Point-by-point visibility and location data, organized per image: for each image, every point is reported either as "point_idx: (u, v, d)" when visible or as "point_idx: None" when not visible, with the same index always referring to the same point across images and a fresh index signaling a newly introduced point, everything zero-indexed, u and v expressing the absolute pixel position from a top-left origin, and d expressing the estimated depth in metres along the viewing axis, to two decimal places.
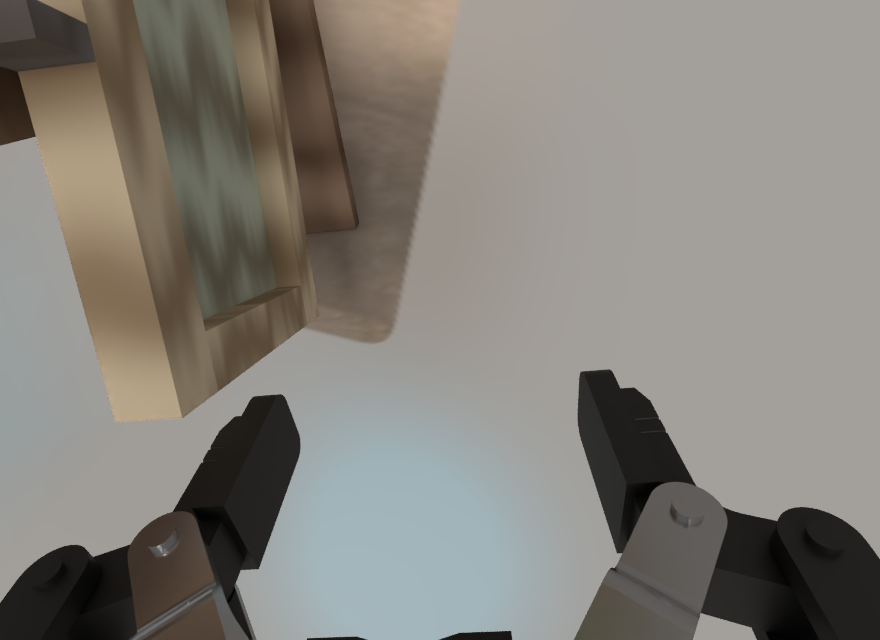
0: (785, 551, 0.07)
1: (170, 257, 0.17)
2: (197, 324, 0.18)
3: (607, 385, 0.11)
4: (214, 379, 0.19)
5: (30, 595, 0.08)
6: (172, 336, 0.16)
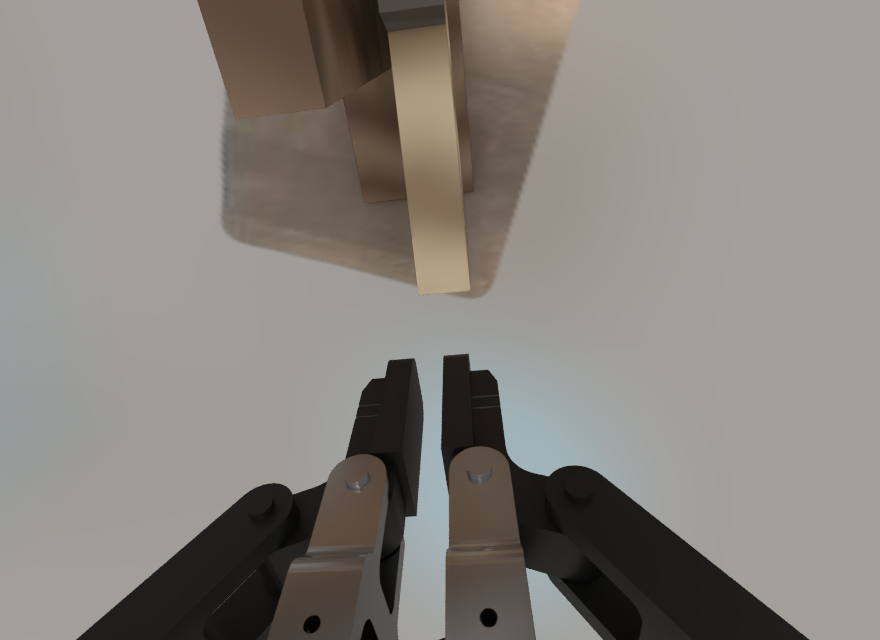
0: (560, 517, 0.08)
1: None
2: None
3: (459, 367, 0.12)
4: None
5: (243, 519, 0.09)
6: None
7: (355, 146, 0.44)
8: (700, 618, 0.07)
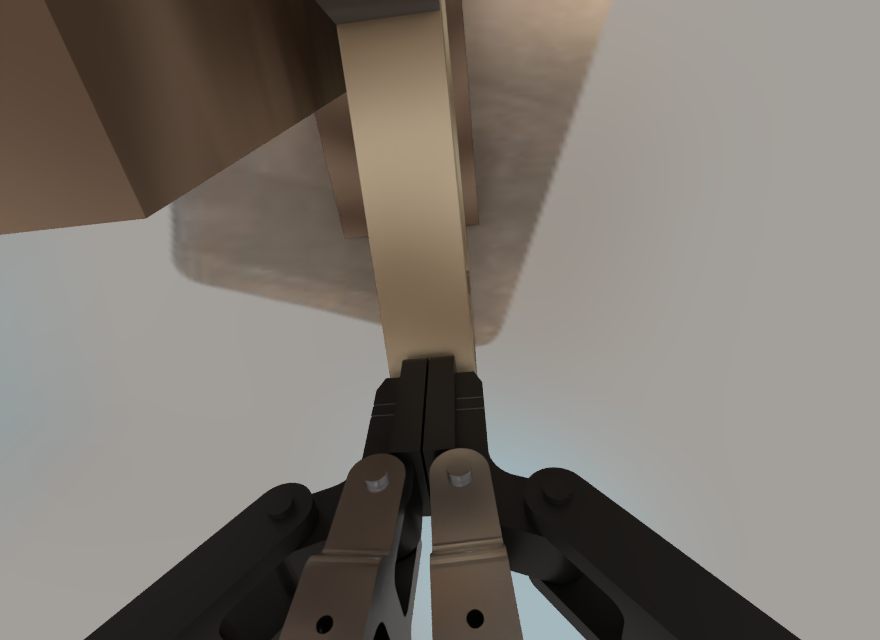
0: (540, 520, 0.08)
1: None
2: (471, 328, 0.16)
3: (444, 368, 0.12)
4: None
5: (263, 517, 0.09)
6: None
7: (331, 171, 0.35)
8: (680, 613, 0.07)
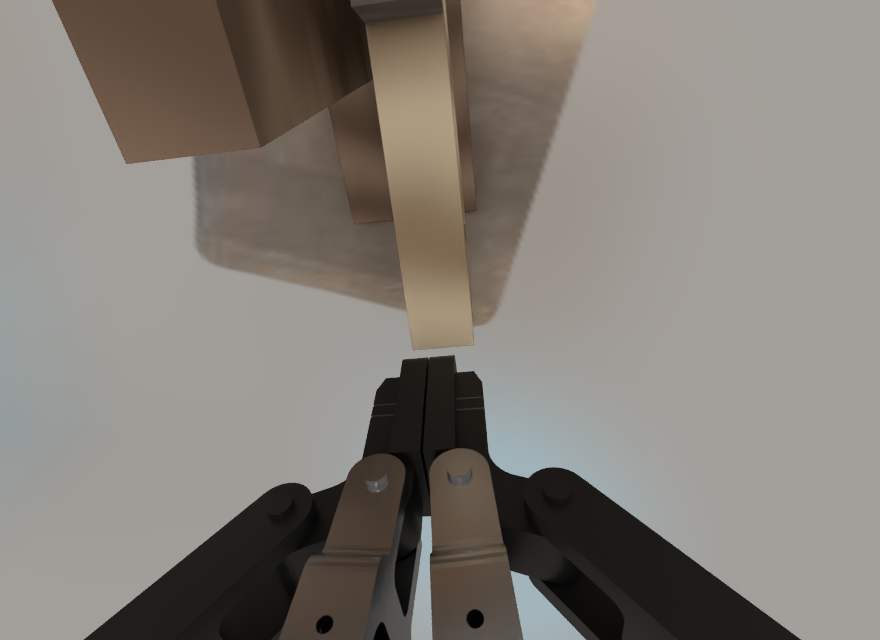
0: (540, 520, 0.08)
1: None
2: None
3: (444, 368, 0.12)
4: None
5: (263, 517, 0.09)
6: (467, 272, 0.18)
7: (343, 161, 0.39)
8: (680, 613, 0.07)
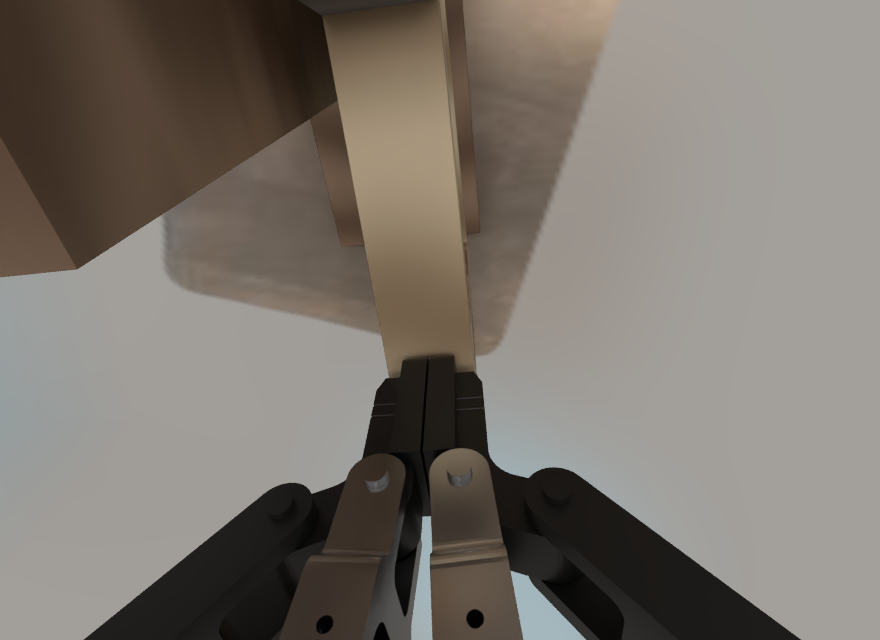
0: (539, 520, 0.08)
1: None
2: None
3: (444, 368, 0.12)
4: None
5: (263, 517, 0.09)
6: (472, 348, 0.14)
7: (327, 177, 0.34)
8: (680, 613, 0.07)
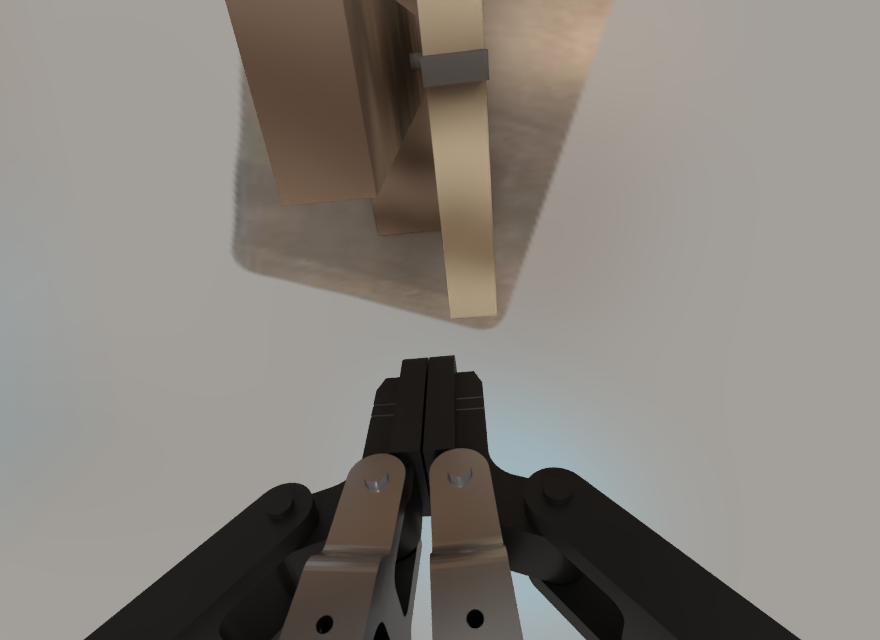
0: (540, 520, 0.08)
1: None
2: None
3: (444, 368, 0.12)
4: None
5: (263, 517, 0.09)
6: None
7: None
8: (680, 613, 0.07)
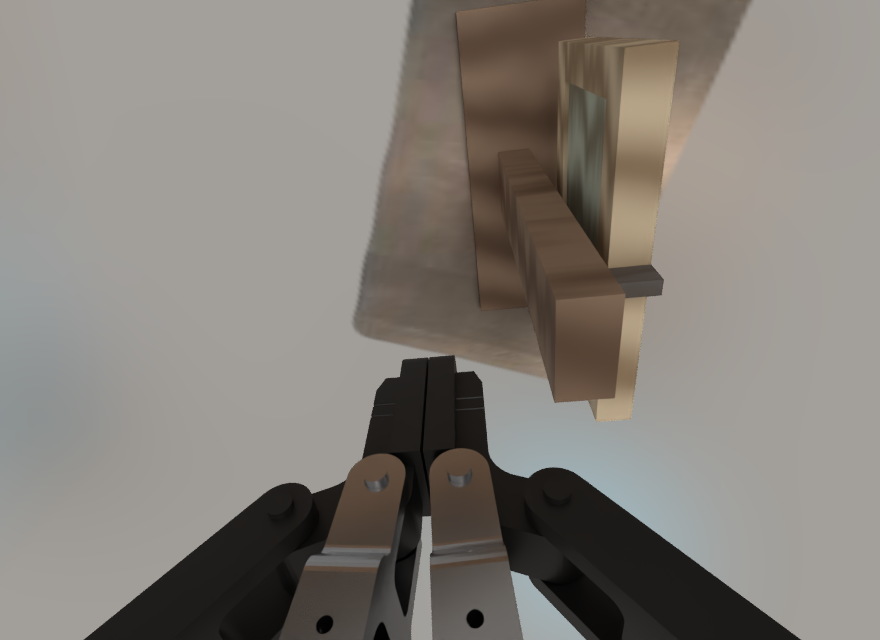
0: (540, 520, 0.08)
1: None
2: None
3: (444, 368, 0.12)
4: None
5: (263, 517, 0.09)
6: None
7: (479, 269, 0.53)
8: (680, 613, 0.07)
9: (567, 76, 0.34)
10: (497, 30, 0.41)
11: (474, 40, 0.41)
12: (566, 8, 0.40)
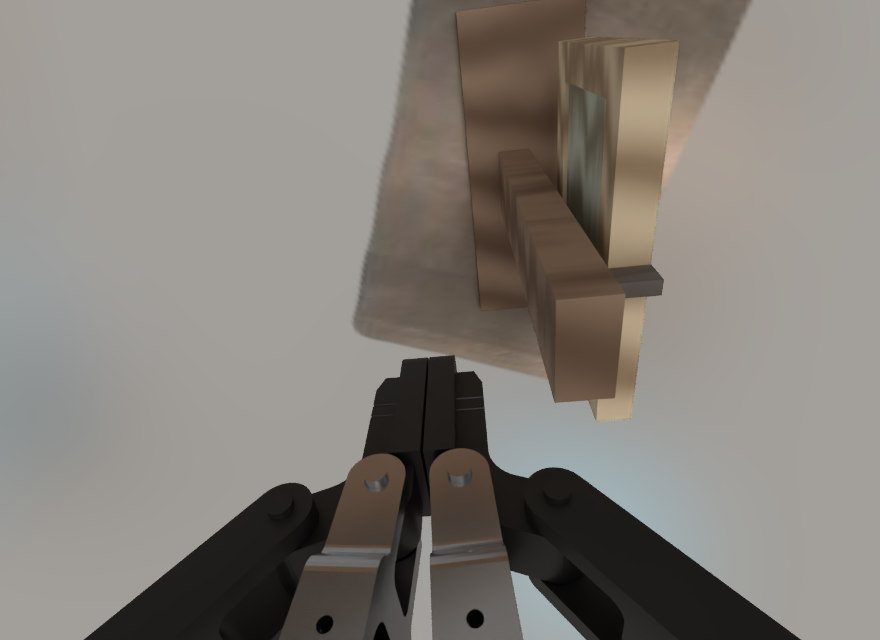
0: (540, 520, 0.08)
1: None
2: None
3: (444, 369, 0.12)
4: None
5: (263, 517, 0.09)
6: None
7: (479, 269, 0.53)
8: (680, 613, 0.07)
9: (567, 76, 0.34)
10: (497, 30, 0.41)
11: (474, 40, 0.41)
12: (566, 8, 0.40)
